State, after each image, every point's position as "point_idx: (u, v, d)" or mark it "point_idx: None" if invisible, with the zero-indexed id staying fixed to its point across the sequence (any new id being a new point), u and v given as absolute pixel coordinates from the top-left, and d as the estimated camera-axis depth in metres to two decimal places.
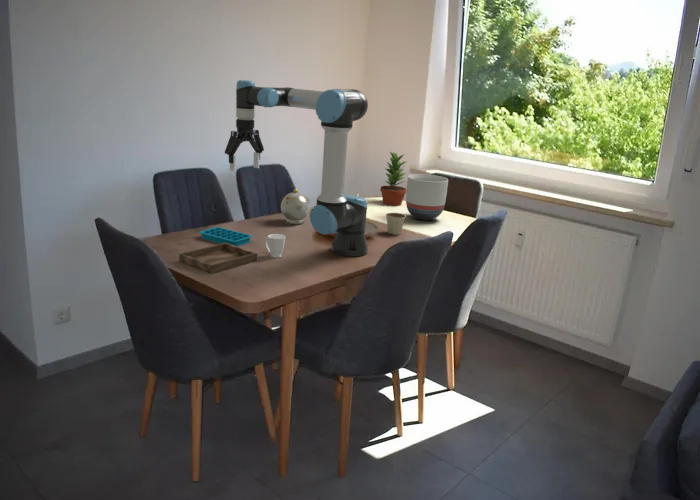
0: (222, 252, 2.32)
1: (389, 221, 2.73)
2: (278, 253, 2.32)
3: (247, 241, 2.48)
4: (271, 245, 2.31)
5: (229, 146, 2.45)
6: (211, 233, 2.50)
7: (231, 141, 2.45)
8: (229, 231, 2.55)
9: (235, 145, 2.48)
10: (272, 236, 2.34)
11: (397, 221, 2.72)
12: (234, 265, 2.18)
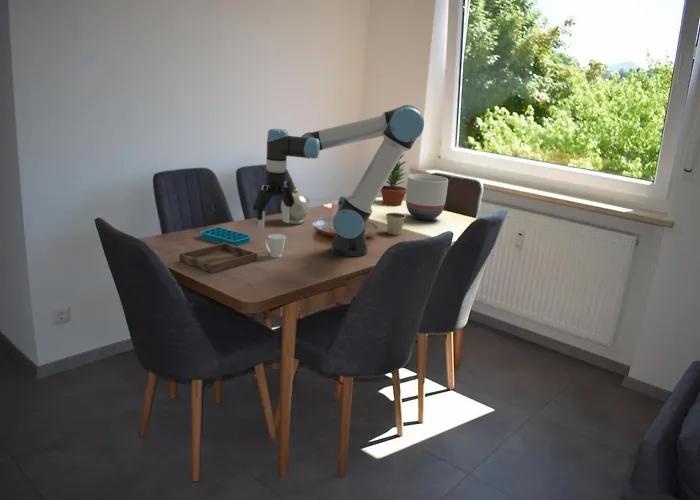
0: (222, 252, 2.32)
1: (389, 221, 2.73)
2: (278, 253, 2.32)
3: (247, 241, 2.48)
4: (271, 245, 2.31)
5: (258, 202, 2.22)
6: (211, 233, 2.50)
7: (260, 196, 2.22)
8: (229, 231, 2.55)
9: (265, 200, 2.24)
10: (272, 236, 2.34)
11: (397, 221, 2.72)
12: (234, 265, 2.18)
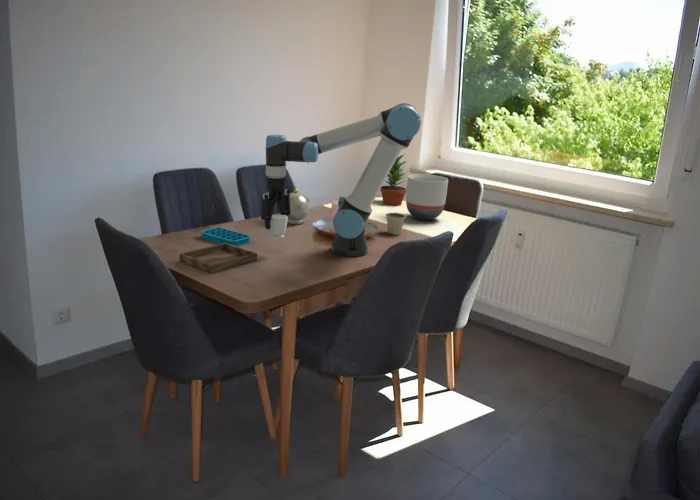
0: (222, 252, 2.32)
1: (389, 221, 2.73)
2: (281, 233, 2.30)
3: (247, 241, 2.48)
4: (273, 225, 2.28)
5: (264, 212, 2.25)
6: (211, 233, 2.51)
7: (264, 206, 2.24)
8: (229, 231, 2.55)
9: (269, 209, 2.27)
10: (274, 217, 2.32)
11: (397, 221, 2.72)
12: (234, 265, 2.18)
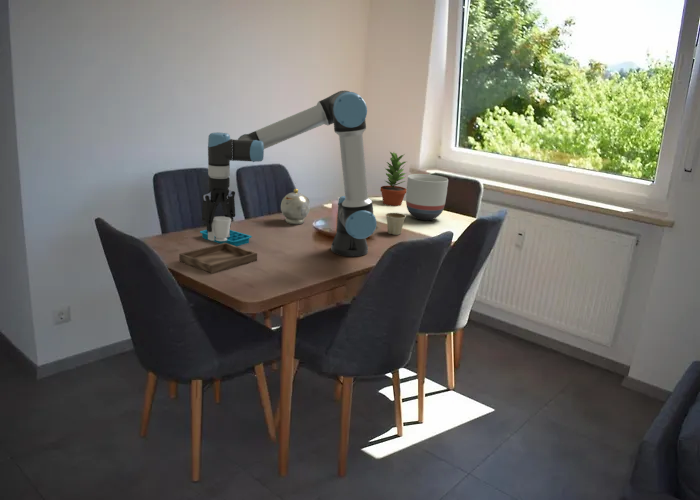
0: (222, 252, 2.32)
1: (389, 221, 2.73)
2: (223, 236, 2.18)
3: (246, 241, 2.47)
4: (215, 228, 2.17)
5: (205, 213, 2.13)
6: None
7: (205, 207, 2.12)
8: (230, 231, 2.54)
9: (211, 210, 2.15)
10: (217, 218, 2.20)
11: (397, 221, 2.72)
12: (234, 265, 2.18)
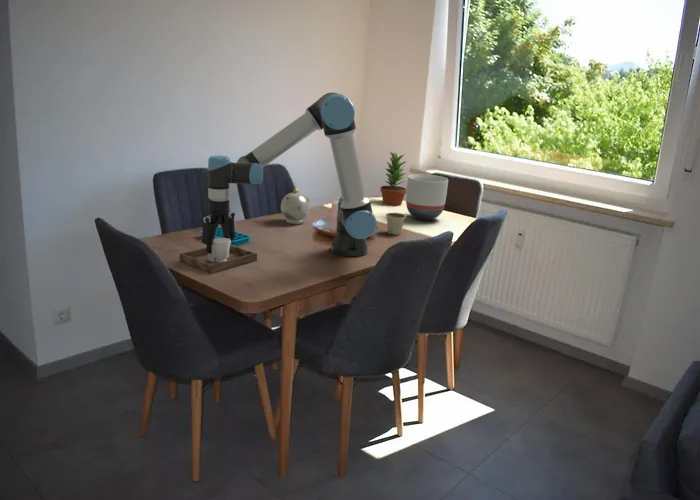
0: None
1: (389, 221, 2.73)
2: (223, 258, 2.20)
3: (246, 242, 2.47)
4: (215, 249, 2.19)
5: (205, 236, 2.15)
6: None
7: (205, 230, 2.15)
8: None
9: (211, 232, 2.17)
10: (217, 240, 2.23)
11: (397, 221, 2.72)
12: (234, 265, 2.18)
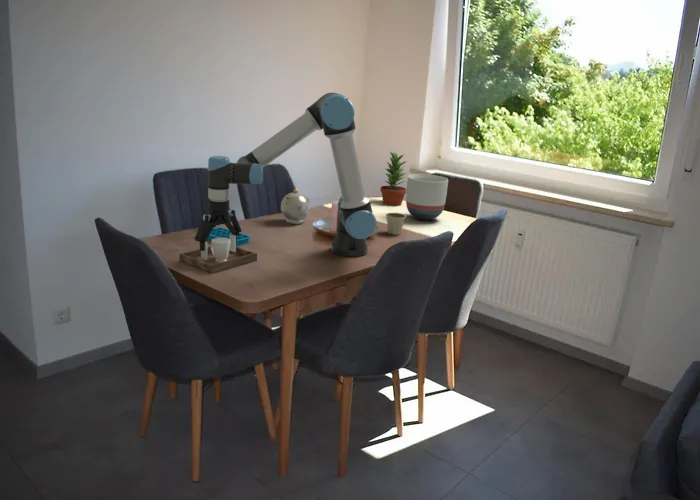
0: None
1: (389, 221, 2.73)
2: (223, 258, 2.20)
3: (246, 242, 2.47)
4: (215, 249, 2.19)
5: (200, 232, 2.13)
6: (211, 233, 2.51)
7: (202, 226, 2.13)
8: None
9: (207, 230, 2.15)
10: (217, 240, 2.23)
11: (397, 221, 2.72)
12: (234, 265, 2.18)
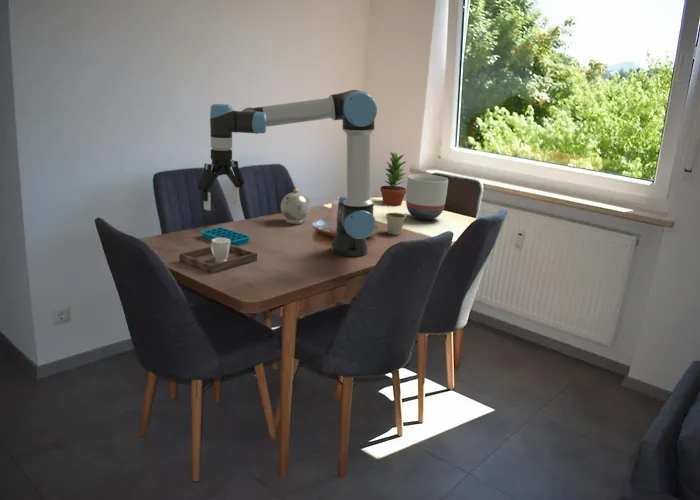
0: None
1: (389, 221, 2.73)
2: (223, 258, 2.20)
3: (246, 242, 2.47)
4: (215, 249, 2.19)
5: (202, 182, 2.09)
6: (212, 233, 2.51)
7: (205, 176, 2.09)
8: (230, 231, 2.54)
9: (210, 180, 2.11)
10: (217, 240, 2.23)
11: (397, 221, 2.72)
12: (234, 265, 2.18)
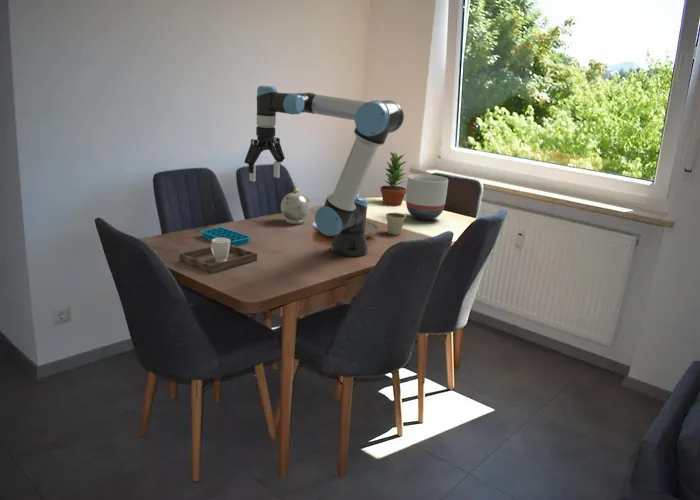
0: None
1: (389, 221, 2.73)
2: (223, 258, 2.20)
3: (245, 242, 2.47)
4: (215, 249, 2.19)
5: (249, 155, 2.33)
6: (212, 233, 2.51)
7: (251, 150, 2.33)
8: (230, 231, 2.54)
9: (255, 154, 2.35)
10: (217, 240, 2.23)
11: (397, 221, 2.72)
12: (234, 265, 2.18)
